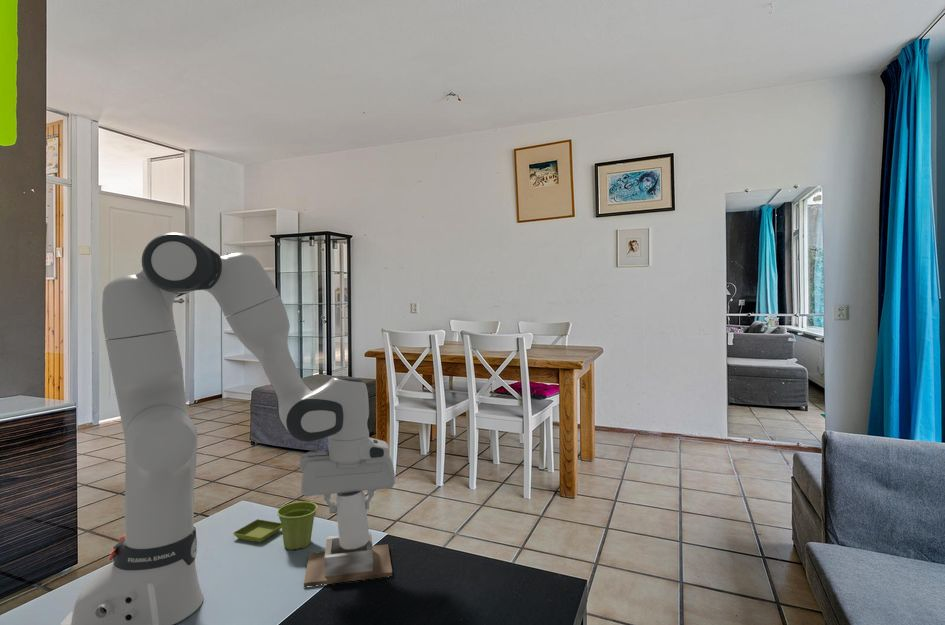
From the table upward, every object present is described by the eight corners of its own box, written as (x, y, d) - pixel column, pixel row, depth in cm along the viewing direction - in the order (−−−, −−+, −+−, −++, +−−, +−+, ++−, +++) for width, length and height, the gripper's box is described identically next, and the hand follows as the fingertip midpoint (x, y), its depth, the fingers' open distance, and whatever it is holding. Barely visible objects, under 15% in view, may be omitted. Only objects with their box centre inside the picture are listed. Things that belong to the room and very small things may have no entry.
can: (362, 551, 106) (357, 496, 105) (334, 550, 107) (329, 496, 106) (373, 536, 112) (368, 484, 112) (347, 536, 113) (342, 485, 113)
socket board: (303, 590, 100) (303, 563, 100) (309, 559, 113) (309, 535, 113) (392, 579, 105) (392, 553, 105) (388, 550, 117) (388, 527, 117)
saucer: (284, 531, 127) (284, 523, 127) (260, 546, 119) (260, 538, 119) (257, 526, 130) (257, 518, 130) (232, 541, 122) (232, 533, 122)
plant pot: (324, 537, 123) (324, 502, 123) (305, 555, 114) (305, 518, 114) (290, 534, 125) (290, 500, 125) (269, 552, 116) (268, 515, 115)
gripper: (298, 456, 103) (298, 521, 103) (395, 449, 108) (396, 511, 108) (300, 448, 109) (301, 510, 109) (393, 441, 114) (393, 500, 115)
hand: (349, 510), depth 109 cm, fingers closed on can, 6 cm apart
